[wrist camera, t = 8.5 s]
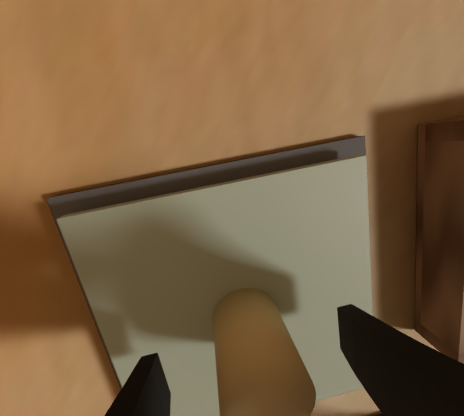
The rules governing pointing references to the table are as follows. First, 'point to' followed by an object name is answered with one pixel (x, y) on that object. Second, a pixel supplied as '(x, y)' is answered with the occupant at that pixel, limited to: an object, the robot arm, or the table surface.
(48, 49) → the table surface
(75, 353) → the table surface
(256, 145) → the table surface
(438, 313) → the walnut box
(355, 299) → the lid
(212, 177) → the charcoal mat
